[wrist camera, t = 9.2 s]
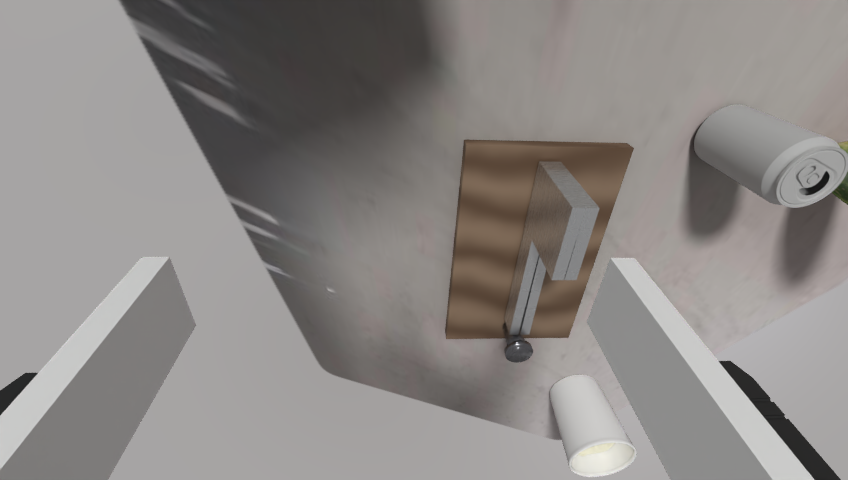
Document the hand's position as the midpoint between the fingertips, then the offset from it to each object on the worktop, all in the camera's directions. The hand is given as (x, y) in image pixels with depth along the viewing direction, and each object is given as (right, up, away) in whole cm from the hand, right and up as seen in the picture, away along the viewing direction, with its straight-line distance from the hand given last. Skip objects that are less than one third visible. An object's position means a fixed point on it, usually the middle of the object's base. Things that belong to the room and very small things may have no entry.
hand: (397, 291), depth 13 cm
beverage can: (+33, +14, +31) cm, 48 cm away
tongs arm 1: (+13, 0, +37) cm, 39 cm away
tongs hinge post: (+13, -11, +44) cm, 48 cm away
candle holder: (+26, -24, +56) cm, 66 cm away
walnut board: (+13, 0, +39) cm, 41 cm away
